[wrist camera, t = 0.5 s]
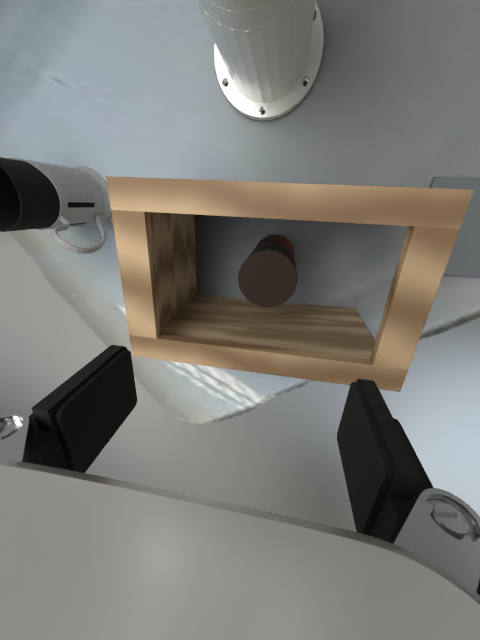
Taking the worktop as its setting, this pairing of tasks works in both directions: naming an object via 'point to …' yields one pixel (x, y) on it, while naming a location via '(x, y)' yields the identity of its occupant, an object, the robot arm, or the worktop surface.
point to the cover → (288, 318)
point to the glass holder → (52, 199)
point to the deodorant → (269, 272)
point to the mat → (464, 230)
